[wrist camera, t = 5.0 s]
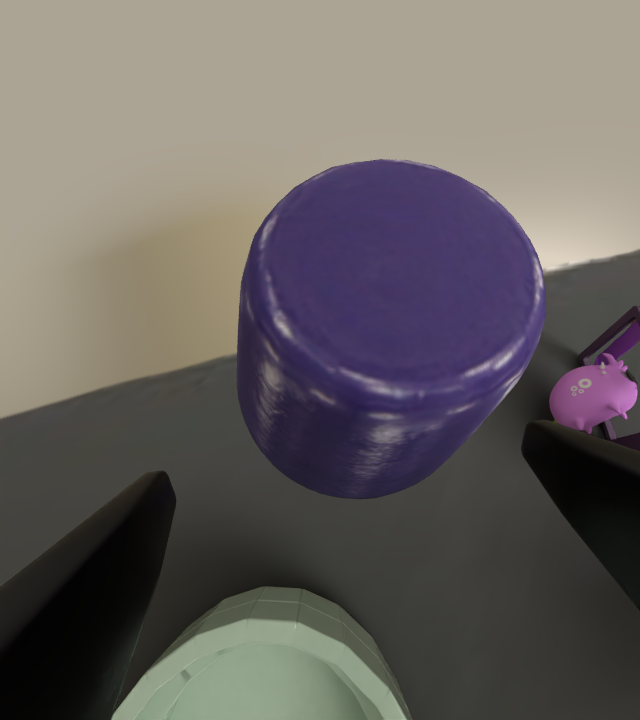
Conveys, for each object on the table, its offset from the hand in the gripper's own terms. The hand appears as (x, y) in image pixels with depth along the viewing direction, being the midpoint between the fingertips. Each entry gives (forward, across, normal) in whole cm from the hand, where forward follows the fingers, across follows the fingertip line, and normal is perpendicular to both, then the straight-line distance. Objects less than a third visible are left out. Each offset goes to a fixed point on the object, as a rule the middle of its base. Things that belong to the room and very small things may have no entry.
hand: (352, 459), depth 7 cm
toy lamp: (+9, 0, +7) cm, 11 cm away
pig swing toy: (+9, -15, +7) cm, 19 cm away
